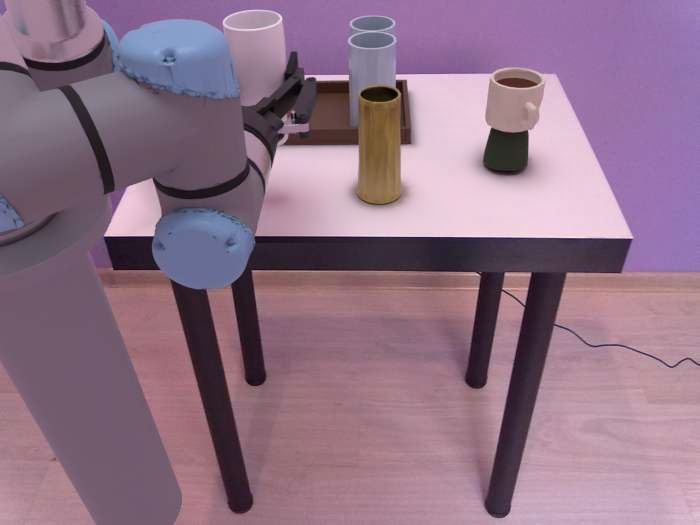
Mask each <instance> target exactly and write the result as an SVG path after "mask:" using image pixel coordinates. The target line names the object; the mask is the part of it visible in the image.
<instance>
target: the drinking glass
mask: <svg viewBox="0 0 700 525" xmlns="http://www.w3.org/2000/svg"><path fill="white" fill-rule="evenodd" d="M222 30H223V31H222V33H223V34H224V35H225V37H226V38H227V40H228V43H229V46H230V51H231V55H232V57H233V60H234V65H235V70H236V75H237V80H238V84H239V87H240V92H241V93H240V99H241V106H252V105H256V104H257V103H258V102H259V101H260V100H261V99H262V98H263V97H270V96H271V95H272V94H273V93H274V92H275V91H276V90H277V89H278V88H279V87H280V86H281V85H282V84H283V83H284V82H286V80H285V71H286V68H287V64H288V60H287V59H288V57H287V44H286V34H285V28H284V21H283V16H282V15H281V14H280V13H278V12H276V11H273V10H267V9H248V10H242V11H237V12H234V13H231V14H229V15H227V16H226V17H225V18H224V19H223V20H222ZM281 120H282V121H283V122H285V121H287V114H286V115H285V116H284V117H283V118H282V119H281ZM288 135H289V134H285V136H284V138H283V139H282V140H281V141H279V142H278V144H277V148H278V147H280V146H283V145H282V144H284V143H285V142H286V140H287V139H288Z"/></svg>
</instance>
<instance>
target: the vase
mask: <svg viewBox="0 0 700 525" xmlns="http://www.w3.org/2000/svg"><path fill="white" fill-rule="evenodd" d="M400 109H401V93H400V91H399V90H398V89H397V88H395V87H392V86H388V85H372V86H368V87H365V88H363V89H361V90H360V91H359V93H358V129H359V144H358V168H357V170H358V172H357V185H356V194H357V196H358V197H359V198H360V200H362V201H364V202H367V203H369V204H374V205H383V204H389V203H393V202H394V201H396V200H398V199H399V198H400V196H401V195H402V192H403V186H402V179H401V178H402V177H401V176H402V172H401V171H402V159H401V158H402V157H401V156H402V152H401V151H402V147H401V146H402V144H401V140H400Z"/></svg>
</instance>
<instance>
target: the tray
mask: <svg viewBox="0 0 700 525" xmlns="http://www.w3.org/2000/svg"><path fill="white" fill-rule="evenodd" d="M316 83H317V102H316V105H315V107H314V110H313V113H312V116H311V118H310V121H309V131H310V137H309V138H306V139H301V138H299V137H298V134H297V133H296V134H294V133H290V134H289V135H288V139H287V140H286V142H285V143H284V144H282V145H281V146H285V145H287V146H291V145H293V146H295V145H305V146H306V145H359V129H358V127H351V126H350V97H349V79H346V80H345V79H344V80H343V79H341V80H340V79H339V80H334V79H333V80H316ZM396 88H397V89H398V90H399V91H400V93H401V109H400V140H401V145H410V144H411V140H412V124H411V123H412V122H411V121H412V120H411V113H410V112H411V111H410V101H409V89H408V79H396ZM294 106H295V105H294ZM294 106H293V108H292V109H291V110H290V111H289V112H288V113H287V120H288V118H289V117H290V116H291V114H290V112H291V111H295V110H294Z"/></svg>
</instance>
